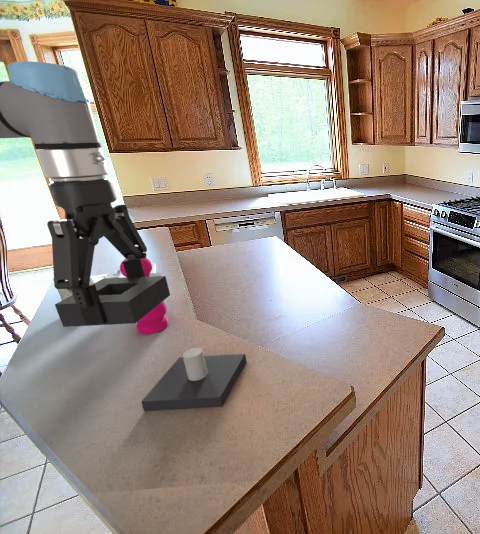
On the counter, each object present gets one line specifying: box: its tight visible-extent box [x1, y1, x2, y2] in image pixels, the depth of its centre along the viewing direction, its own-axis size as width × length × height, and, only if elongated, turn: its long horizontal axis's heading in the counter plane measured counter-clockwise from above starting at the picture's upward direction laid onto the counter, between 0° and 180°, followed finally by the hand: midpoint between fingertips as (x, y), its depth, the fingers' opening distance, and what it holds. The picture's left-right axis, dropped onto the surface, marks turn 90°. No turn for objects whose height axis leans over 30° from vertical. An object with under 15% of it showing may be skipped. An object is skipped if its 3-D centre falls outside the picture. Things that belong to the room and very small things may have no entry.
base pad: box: [141, 347, 247, 412], centre depth 66 cm, size 13×13×7 cm
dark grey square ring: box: [54, 275, 171, 328], centre depth 62 cm, size 11×11×4 cm
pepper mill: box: [119, 257, 169, 335], centre depth 84 cm, size 7×7×20 cm
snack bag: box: [90, 263, 157, 283], centre depth 115 cm, size 19×20×2 cm
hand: (120, 306), depth 62 cm, fingers closed on dark grey square ring, 11 cm apart
